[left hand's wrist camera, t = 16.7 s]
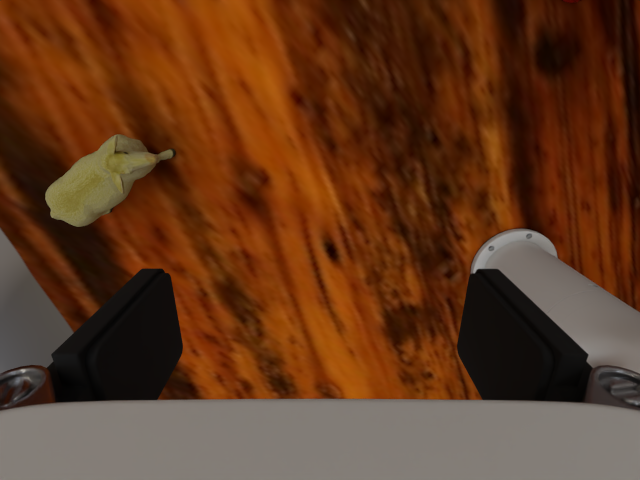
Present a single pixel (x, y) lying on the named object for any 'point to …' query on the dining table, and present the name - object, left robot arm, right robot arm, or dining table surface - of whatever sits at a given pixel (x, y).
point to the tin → (571, 1)
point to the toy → (101, 180)
